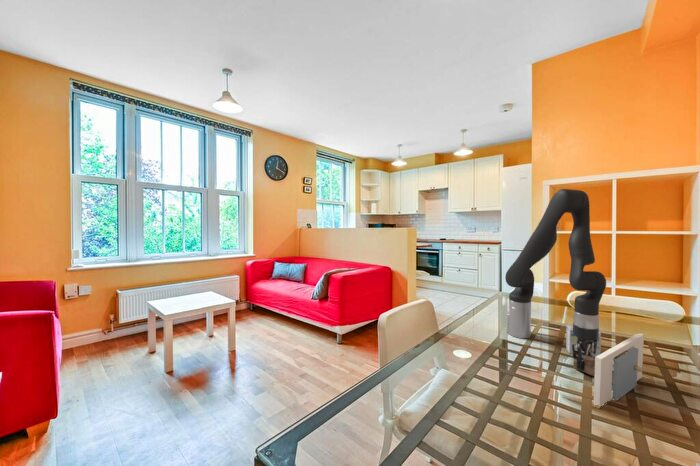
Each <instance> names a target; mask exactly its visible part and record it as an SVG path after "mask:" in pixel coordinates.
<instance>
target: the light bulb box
mask: <svg viewBox="0 0 700 466" xmlns="http://www.w3.org/2000/svg"><path fill="white" fill-rule="evenodd" d="M565 325H566V326H565V328H566V329H565V333H566V334H565V338H566V339H565V348H566V350H567V353H568V354H570V355H573V351H572V345H573V344H574V345H576V342H577V339H578V338H577V337H576V336H575V335H574V334H573V324H568V323H567V324H565ZM601 345H602V333H601V332H600V330H599V338H598V341H597V348H596V354H593V355H594V356H593V358H595V357H596V356H598V355H600V354H602V352H601V349H602V348H601V347H602V346H601ZM582 352H583V353H584V351H582Z"/></svg>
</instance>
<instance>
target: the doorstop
mask: <svg viewBox="0 0 700 466" xmlns="http://www.w3.org/2000/svg"><path fill="white" fill-rule="evenodd" d="M582 356H583V355H582ZM572 367H573V369H576V370H578V371H580V372H583V373H584V374H585V373H586V374H588V375H590V376H592V377H595V357H590V356H586V357H585V367H584V371H581V370H579V369H577V360H576V359H573V366H572ZM613 372H614V369H612V385H613Z"/></svg>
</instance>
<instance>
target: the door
mask: <svg viewBox="0 0 700 466" xmlns="http://www.w3.org/2000/svg"><path fill="white" fill-rule="evenodd" d="M613 371H614V372H613V384H612V394H611V400H613V399H614V400H613V401H615V400H617V399H618V400H619V398H620V397H621V396H622V395H624V394H625V395H626V394H628V393H629V392H630V391H632V390H633V389H634V388H635V387H637V384H638V383H637V382H638V381H637V371H639V372H642V373H643V366H642V367H640V366H638V348H633V349H631V350H630V351H625V353H622V354H620V356H617V358H616V357H615V358H614V359H613ZM625 395H624V396H625ZM622 397H623V396H622ZM622 397H621V398H622ZM621 398H620V399H621ZM618 400H617V401H618Z"/></svg>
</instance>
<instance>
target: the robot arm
mask: <svg viewBox="0 0 700 466" xmlns="http://www.w3.org/2000/svg"><path fill="white" fill-rule="evenodd" d="M564 214H571V217H572V221H573V223H572V224H573V226H572V230H571V233H570V235H569V237H568V238H569V239H568V244H567V245H568V250H569V255H570V256H569V257H570V271H569V275H568V276H569V277H568V279H569V280H568V281H569V284H570V286H571V287H572V288H573V290H576V291H582V292H585V291H586V292H585V293H583V294H580V295H577V296H575V298H574V307H573V309H574V312H573V315H572V316H573V317H572V325H573V334H574V335H575V336H576V337H577V338H578V339H577V342H576V345H574V344H573V345H572V351H573V354H572V358H573V360H574V359H576V360H577V369H579V370H578V371H580V370H581V371H580V372H582V371H584V367H585V357H586V356H590V357H593V356H594V355H593V354H596V348H597V341H598V338H599V331H600V315H599V311H600V310H599V309H600V303H601V299H602V297H603V295H604V292H605V290H606V287H607V279H606V277H605V275H604V274H603V273H602V272H600V271H595V270H594V271H591V270H589V271H584V269H585V266H589V265H590V266H591V265H593V264H595V261H596V258H595V254H594V252H595V251H594V250H593V244H592V239H591V224H590V223H591V219H590V218H591V215H590V199H589V195H588V193H586V192H585V191H584V190H580V189H569V188H560V189H559V190H557V191H556V192H555V193H554V194H553V195H552V197H551V199H550V200H549V202H548V204H547V207H546V208H545V212H544V213H543V216H542V218H541V219H540V220H539V223H538V224H537V226H536V228H535V229H534V230H533V232H532V234H531V235H530V237H529V238H528V240H527V242H526V243H525V245H524V247H523V248H522V251H521V252H520V253H519V255H518V256H517V258H516V259H515V260H514V262H513V263H512V264H511V266H510V267H509V268H508V270H507V271H506V272H505V282H506V284H507V285H508V286H509V287H511V288H514V289H513V290H512V291H511V292H509V294H508V313H507V314H506V333H508V334H509V335H510V336H512V337H515V338H518V339H529V338H531V335H532V334H531V333H532V332H531V331H532V330H531V329H532V328H531V327H532V324H531V323H532V297H533V296H534V291H535V290H534V289H535V288H534V287H535V276H534V272H533V271H532V269H531V268H532V267H533V266H535V265H536V264H537V263H539V262H540V261H541V260H543V259H544V258H545V257H546V256H547V255H549V253H550V252H551V251H552V249H553V248H554V246H555V244H556V243H557V238H558V232H557V226H558V223H559V222H560V219H561V218H562V217H563V216H564ZM582 351H584V353H583V352H582ZM582 355H583V356H582ZM593 358H594V357H593ZM577 369H576V370H577Z"/></svg>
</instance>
